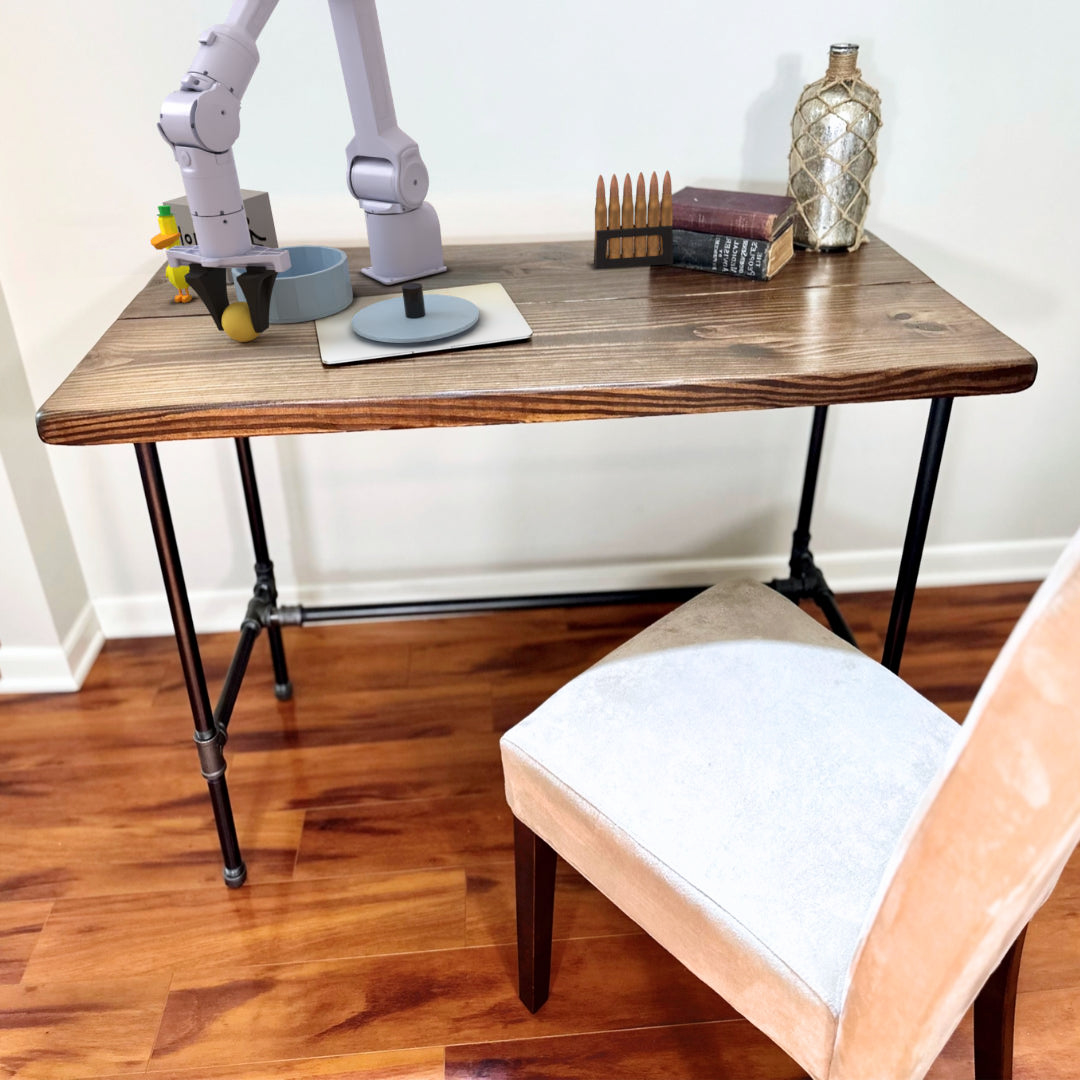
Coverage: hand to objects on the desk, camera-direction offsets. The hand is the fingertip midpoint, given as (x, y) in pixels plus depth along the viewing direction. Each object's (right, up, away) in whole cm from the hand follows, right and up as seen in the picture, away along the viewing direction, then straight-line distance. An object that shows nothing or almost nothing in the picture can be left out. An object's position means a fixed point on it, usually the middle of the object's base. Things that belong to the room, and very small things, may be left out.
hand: (243, 328), depth 114 cm
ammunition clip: (+48, +13, +19) cm, 53 cm away
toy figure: (-12, +7, +14) cm, 20 cm away
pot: (+4, +6, +11) cm, 13 cm away
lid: (+20, +2, +3) cm, 20 cm away
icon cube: (-9, +14, +25) cm, 30 cm away
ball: (0, +1, 0) cm, 1 cm away
